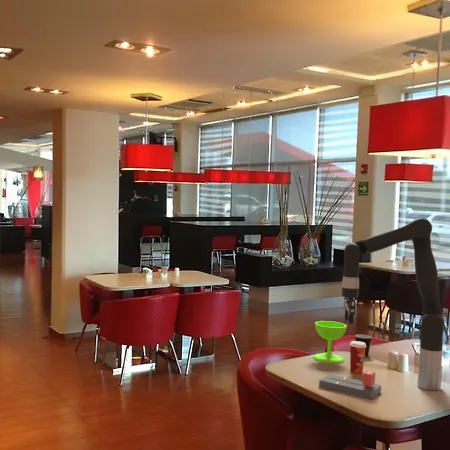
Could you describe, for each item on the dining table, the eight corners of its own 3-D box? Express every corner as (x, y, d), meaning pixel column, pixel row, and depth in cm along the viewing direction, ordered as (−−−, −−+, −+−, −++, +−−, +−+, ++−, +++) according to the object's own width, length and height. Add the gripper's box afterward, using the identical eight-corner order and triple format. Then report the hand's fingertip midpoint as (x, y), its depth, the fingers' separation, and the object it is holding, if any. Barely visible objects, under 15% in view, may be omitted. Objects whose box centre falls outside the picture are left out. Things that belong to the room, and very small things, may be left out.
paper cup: (360, 375, 259) (362, 345, 259) (345, 371, 264) (347, 342, 263) (367, 372, 265) (369, 342, 265) (352, 368, 270) (354, 339, 269)
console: (380, 392, 236) (381, 385, 236) (371, 399, 226) (372, 392, 226) (329, 380, 248) (330, 373, 248) (318, 387, 238) (319, 379, 238)
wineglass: (342, 365, 275) (344, 329, 274) (310, 360, 280) (312, 325, 279) (346, 357, 290) (348, 323, 289) (315, 353, 295) (317, 319, 294)
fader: (374, 385, 234) (375, 372, 234) (370, 388, 230) (371, 374, 229) (366, 383, 236) (367, 370, 236) (362, 386, 232) (363, 372, 231)
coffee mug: (358, 351, 303) (359, 333, 303) (373, 355, 298) (374, 336, 298) (348, 355, 294) (349, 336, 294) (363, 359, 289) (364, 340, 289)
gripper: (362, 289, 248) (360, 325, 249) (355, 285, 262) (353, 319, 263) (345, 288, 248) (343, 324, 249) (339, 284, 262) (337, 318, 263)
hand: (348, 321), depth 256 cm, fingers open, 8 cm apart
